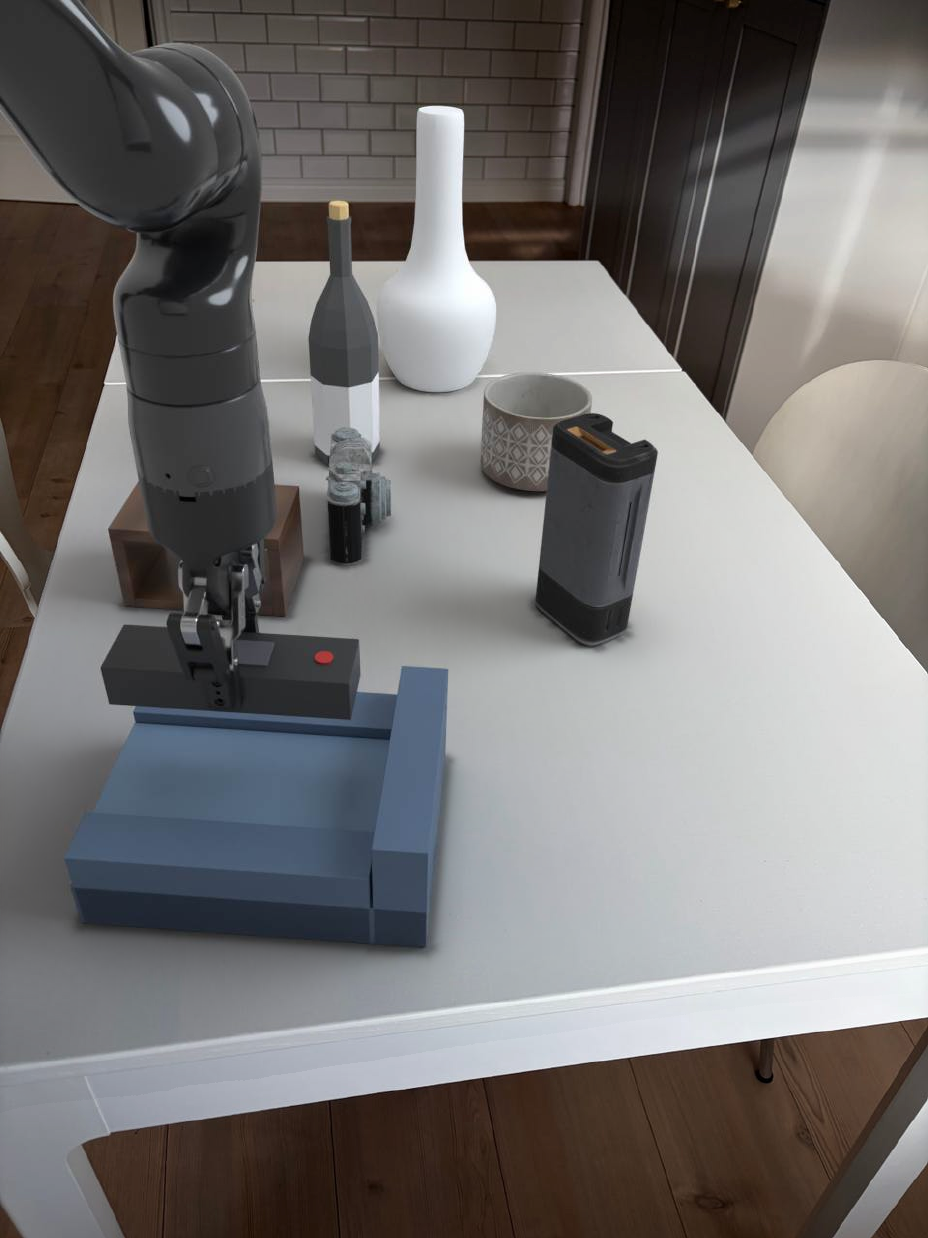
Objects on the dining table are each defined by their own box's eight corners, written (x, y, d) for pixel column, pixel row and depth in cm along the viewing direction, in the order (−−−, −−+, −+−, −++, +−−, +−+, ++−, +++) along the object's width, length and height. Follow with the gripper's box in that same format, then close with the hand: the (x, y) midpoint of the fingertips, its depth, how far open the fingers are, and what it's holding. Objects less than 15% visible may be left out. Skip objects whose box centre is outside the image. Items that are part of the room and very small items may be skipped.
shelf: (124, 606, 97) (107, 528, 92) (155, 550, 105) (141, 476, 100) (285, 616, 97) (278, 539, 92) (304, 559, 105) (299, 485, 100)
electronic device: (633, 632, 97) (667, 449, 85) (587, 652, 94) (614, 466, 82) (573, 585, 103) (596, 407, 91) (528, 602, 100) (545, 422, 88)
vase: (500, 360, 149) (516, 102, 128) (482, 406, 136) (497, 128, 115) (392, 348, 151) (390, 92, 130) (364, 393, 138) (357, 117, 117)
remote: (108, 704, 65) (99, 665, 63) (131, 660, 69) (123, 622, 67) (351, 720, 65) (349, 681, 63) (360, 674, 68) (359, 636, 66)
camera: (391, 565, 105) (391, 482, 99) (327, 565, 104) (322, 482, 98) (390, 494, 117) (389, 416, 110) (332, 494, 116) (328, 415, 110)
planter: (462, 482, 119) (466, 402, 113) (504, 440, 129) (509, 364, 122) (560, 509, 115) (569, 427, 109) (596, 463, 125) (606, 385, 118)
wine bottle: (318, 471, 120) (303, 214, 102) (312, 440, 126) (297, 193, 108) (384, 467, 122) (381, 212, 103) (375, 437, 128) (371, 192, 110)
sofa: (81, 923, 69) (50, 827, 63) (159, 740, 83) (140, 648, 77) (426, 948, 68) (428, 853, 62) (445, 760, 82) (448, 668, 76)
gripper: (175, 396, 62) (208, 614, 72) (93, 516, 50) (147, 754, 61) (294, 403, 62) (310, 621, 72) (240, 524, 50) (268, 763, 61)
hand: (235, 681), depth 66 cm, fingers closed on remote, 4 cm apart
